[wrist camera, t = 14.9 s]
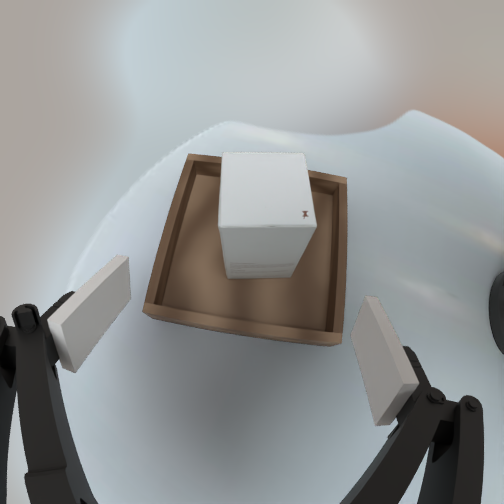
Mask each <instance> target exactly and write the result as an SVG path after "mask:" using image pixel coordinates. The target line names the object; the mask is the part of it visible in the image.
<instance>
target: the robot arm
mask: <svg viewBox="0 0 504 504" xmlns="http://www.w3.org/2000/svg"><path fill="white" fill-rule="evenodd" d="M130 300H131V291H130V274H129V257H126V256H121V255H116V256H115V257H114V258H113V259H112V260H111V261H109V262H108V263H107V264H106V265H105V266H104V267H103V268H101V269H100V270H99V271H98V272H97V273H96V274H95V275H94V276H93V277H91V278H90V279H89V280H88V281H87V282H86V283H85V284H84V285H83V286H82V287H81V288H79V289H78V290H77V291H76V292H73V291H71V292H69V293H67V294H65V295H63V296H62V297H61V298H60V299H59V300H58V301H57V302H56V303H54V304H53V306H51V307H50V308H49V309H48V310H47V311H46V312H45V313H44V314H43V315H42V316H41V317H40V316H39V312H38V309H37V307H36V306H35V305H32V304H23V305H20V306H18V307H16V308H15V309H14V310H13V312H12V318H13V321H14V324H15V327H12V326H7V324H6V321H5V318H3V317H2V316H0V504H6V496H7V460H8V447H9V437H10V429H11V428H10V427H11V421H12V414H13V408H14V402H15V397H16V392H17V394H18V408H19V417H20V425H21V432H22V439H23V445H24V451H25V456H26V461H27V465H28V473H26V474H25V477H24V478H25V485H26V488H27V492H28V496H29V499H30V503H31V504H98V503H97V501H96V499H95V498H94V496H93V494H92V492H91V489H90V487H89V484H88V482H87V479H86V476H85V474H84V471H83V468H82V465H81V463H80V460H79V457H78V454H77V451H76V447H75V444H74V441H73V438H72V434H71V431H70V427H69V423H68V419H67V415H66V411H65V407H64V403H63V398H62V394H61V389H60V384H59V378H58V373H57V368H56V365H55V363H56V362H57V361H58V360H60V362H61V365H62V368H64V369H66V370H69V371H71V372H73V373H76V372H77V370H78V369H79V368H80V366H81V365H82V363H83V362H84V361H85V359H86V358H87V356H88V355H89V354H90V352H91V351H92V350H93V348H94V347H95V346H96V344H97V343H98V341H99V340H100V339H101V337H102V336H103V335H104V333H105V332H106V331H107V329H108V328H109V327H110V325H111V324H112V323H113V322H114V320H115V319H116V318H117V316H118V315H119V314H120V312H121V311H122V310H123V309H124V307H125V306H126V305H127V303H128V302H129V301H130ZM489 309H490V322H491V327H492V331H493V335H494V338H495V341H496V343H497V345H498V347H499V349H500V350H501V351H502V353H503V354H504V272H502V273H501V274H499V275H498V277H497V278H496V279H495V281H494V284H493V286H492V290H491V295H490V307H489ZM350 336H351V339H352V342H353V346H354V349H355V352H356V356H357V359H358V363H359V366H360V370H361V374H362V377H363V381H364V385H365V388H366V392H367V396H368V400H369V404H370V408H371V412H372V416H373V420H374V424H375V426H381V425H390V424H391V423H392V422H393V420H394V419H395V418H397V421H398V425H397V426H396V427H395V428H394V430H393V431H392V432H391V433H390V435H389V436H388V440H387V441H386V443H385V444H384V446H383V447H382V449H381V450H380V452H379V453H378V455H377V456H376V457H375V459H374V460H373V462H372V463H371V464H370V466H369V467H368V469H367V470H366V471H365V473H364V474H363V475H362V477H361V478H360V479H359V480H358V482H357V483H356V484H355V486H354V487H353V488H352V489H351V491H350V492H349V493H348V494H347V495H346V497H345V498H344V499H343V500H342V501H341V502H340V504H398V503H399V501H400V500H401V498H402V496H403V495H404V493H405V491H406V490H407V488H408V486H409V484H410V483H411V481H412V479H413V477H414V475H415V473H416V472H417V470H418V468H419V466H420V464H421V462H422V460H423V458H424V456H425V454H426V451H427V449H428V447H429V451H428V457H427V463H426V468H425V473H424V477H423V482H422V486H421V490H420V494H419V498H418V502H417V504H481V496H482V485H483V468H484V425H483V408H482V405H481V403H480V402H479V400H478V399H476V398H475V397H473V396H469V395H466V396H463V397H462V398H461V400H460V401H459V402H453V401H449V400H446V397H445V395H444V394H443V393H442V392H441V391H440V390H438V389H436V388H434V387H431V385H430V383H429V381H428V379H427V377H426V375H425V372H424V370H423V368H421V367H422V366H421V364H420V362H419V360H418V358H417V356H416V354H415V353H414V352H413V351H412V350H411V349H410V348H409V347H408V346H402V344H401V342H400V340H399V338H398V336H397V334H396V332H395V330H394V328H393V326H392V324H391V322H390V320H389V318H388V316H387V314H386V312H385V311H384V309H383V307H382V305H381V303H380V301H379V299H378V297H373V296H365V297H364V300H363V303H362V306H361V309H360V311H359V314H358V317H357V319H356V322H355V325H354V327H353V330H352V332H351V335H350Z"/></svg>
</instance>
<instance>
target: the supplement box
mask: <svg viewBox="0 0 504 504" xmlns="http://www.w3.org/2000/svg"><path fill="white" fill-rule="evenodd" d="M218 228H219V232H220V237H221V244H222V250H223V257H224V264H225V269H226V275H227V278H228V279H251V278H290V277H291V276H292V274H293V272H294V270H295V268H296V266H297V264H298V262H299V260H300V258H301V256H302V255H303V253H304V251H305V249H306V247H307V245H308V243H309V241H310V239H311V237H312V235H313V233H314V231H315V229H316V228H317V223H316V217H315V211H314V205H313V199H312V193H311V188H310V182H309V176H308V170H307V164H306V158H305V154H304V153H279V152H223V153H222V162H221V178H220V194H219V212H218Z"/></svg>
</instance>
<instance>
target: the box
mask: <svg viewBox="0 0 504 504" xmlns="http://www.w3.org/2000/svg"><path fill="white" fill-rule="evenodd" d="M221 162H222V157H217V156H208V155H198V154H188V156H187V159H186V162H185V165H184V168H183V170H182V173H181V176H180V179H179V182H178V185H177V188H176V191H175V194H174V198H173V201H172V204H171V207H170V210H169V213H168V217H167V220H166V223H165V227H164V230H163V234H162V237H161V240H160V244H159V248H158V251H157V255H156V259H155V262H154V266H153V270H152V274H151V278H150V282H149V286H148V290H147V294H146V298H145V302H144V307H143V311H142V312H143V313H145V314H146V315H148V316H150V317H151V318H153V319H157V320H162V321H166V322H171V323H176V324H181V325H186V326H191V327H196V328H201V329H207V330H212V331H218V332H224V333H230V334H236V335H242V336H249V337H255V338H262V339H269V340H277V341H284V342H292V343H301V344H310V345H319V346H329V347H330V346H334V345H337V344H341V343H342V333H343V321H344V307H345V291H346V269H347V178H345V177H341V176H336V175H331V174H326V173H321V172H316V171H310V170H308V176H309V182H310V188H311V193H312V199H313V205H314V211H315V217H316V223H317V228H316V229H315V231H314V233H313V235H312V237H311V239H310V241H309V243H308V245H307V247H306V249H305V251H304V253H303V255H302V256H301V258H300V260H299V262H298V264H297V266H296V268H295V270H294V272H293V274H292V276H291V277H290V278H251V279H228V278H227V275H226V269H225V264H224V257H223V250H222V244H221V237H220V232H219V228H218V212H219V194H220V178H221Z"/></svg>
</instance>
